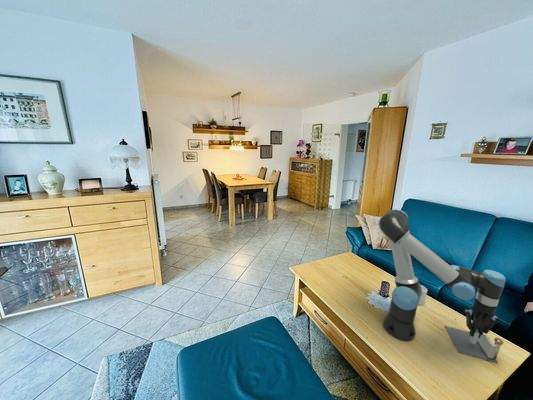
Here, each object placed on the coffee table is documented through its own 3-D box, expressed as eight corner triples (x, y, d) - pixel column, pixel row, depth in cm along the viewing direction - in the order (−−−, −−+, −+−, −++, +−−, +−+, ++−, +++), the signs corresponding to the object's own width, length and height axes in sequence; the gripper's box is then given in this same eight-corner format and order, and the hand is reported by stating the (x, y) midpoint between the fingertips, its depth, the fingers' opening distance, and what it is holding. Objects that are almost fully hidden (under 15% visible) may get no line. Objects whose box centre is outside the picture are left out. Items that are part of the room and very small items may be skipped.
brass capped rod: (490, 360, 104) (497, 341, 101) (487, 355, 106) (493, 337, 104) (498, 362, 103) (504, 343, 100) (494, 357, 105) (501, 338, 103)
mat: (458, 352, 108) (458, 351, 107) (444, 326, 123) (445, 325, 123) (497, 363, 102) (497, 362, 102) (478, 335, 118) (478, 334, 118)
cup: (427, 305, 139) (430, 291, 137) (409, 305, 139) (412, 292, 136) (417, 296, 147) (420, 283, 145) (400, 297, 147) (403, 283, 144)
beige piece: (474, 337, 115) (478, 325, 113) (478, 338, 114) (482, 326, 112) (488, 357, 104) (492, 345, 102) (492, 358, 103) (497, 346, 101)
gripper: (498, 300, 106) (484, 339, 112) (465, 293, 110) (453, 331, 116) (508, 311, 99) (493, 352, 105) (472, 303, 103) (460, 343, 109)
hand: (472, 341), depth 110 cm, fingers closed
